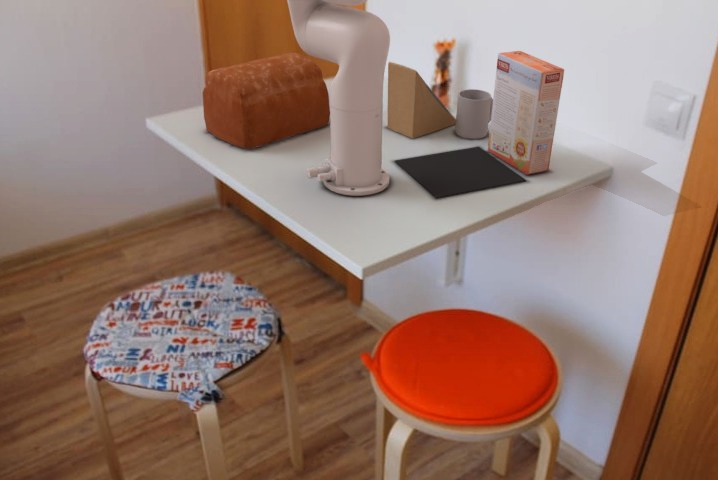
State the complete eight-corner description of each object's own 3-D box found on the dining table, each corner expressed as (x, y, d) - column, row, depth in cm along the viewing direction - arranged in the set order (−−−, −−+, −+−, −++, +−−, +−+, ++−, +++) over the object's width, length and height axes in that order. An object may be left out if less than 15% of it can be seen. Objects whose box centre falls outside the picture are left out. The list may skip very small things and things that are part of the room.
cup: (448, 131, 162) (451, 93, 157) (480, 122, 167) (483, 85, 163) (470, 142, 157) (474, 102, 152) (502, 132, 163) (507, 94, 158)
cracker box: (550, 171, 146) (566, 68, 135) (526, 176, 143) (541, 71, 132) (509, 146, 156) (521, 48, 145) (486, 151, 154) (496, 51, 142)
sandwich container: (460, 122, 167) (465, 57, 159) (413, 139, 158) (416, 70, 149) (433, 112, 172) (437, 49, 164) (386, 127, 163) (388, 61, 154)
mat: (436, 198, 134) (436, 197, 134) (394, 161, 147) (394, 160, 147) (526, 181, 142) (526, 180, 141) (478, 147, 155) (478, 146, 155)
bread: (336, 124, 163) (334, 59, 155) (247, 153, 148) (241, 82, 139) (287, 105, 172) (284, 42, 164) (199, 130, 157) (191, 62, 149)
